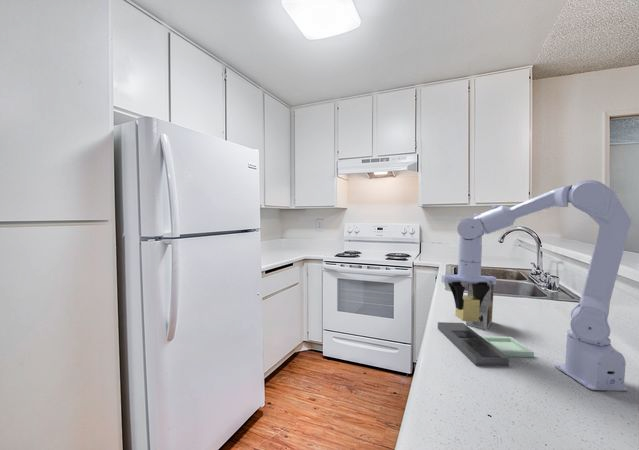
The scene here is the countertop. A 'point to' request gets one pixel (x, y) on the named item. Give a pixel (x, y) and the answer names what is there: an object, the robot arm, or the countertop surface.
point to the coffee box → (483, 308)
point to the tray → (509, 346)
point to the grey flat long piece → (473, 345)
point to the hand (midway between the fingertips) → (467, 308)
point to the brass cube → (469, 309)
